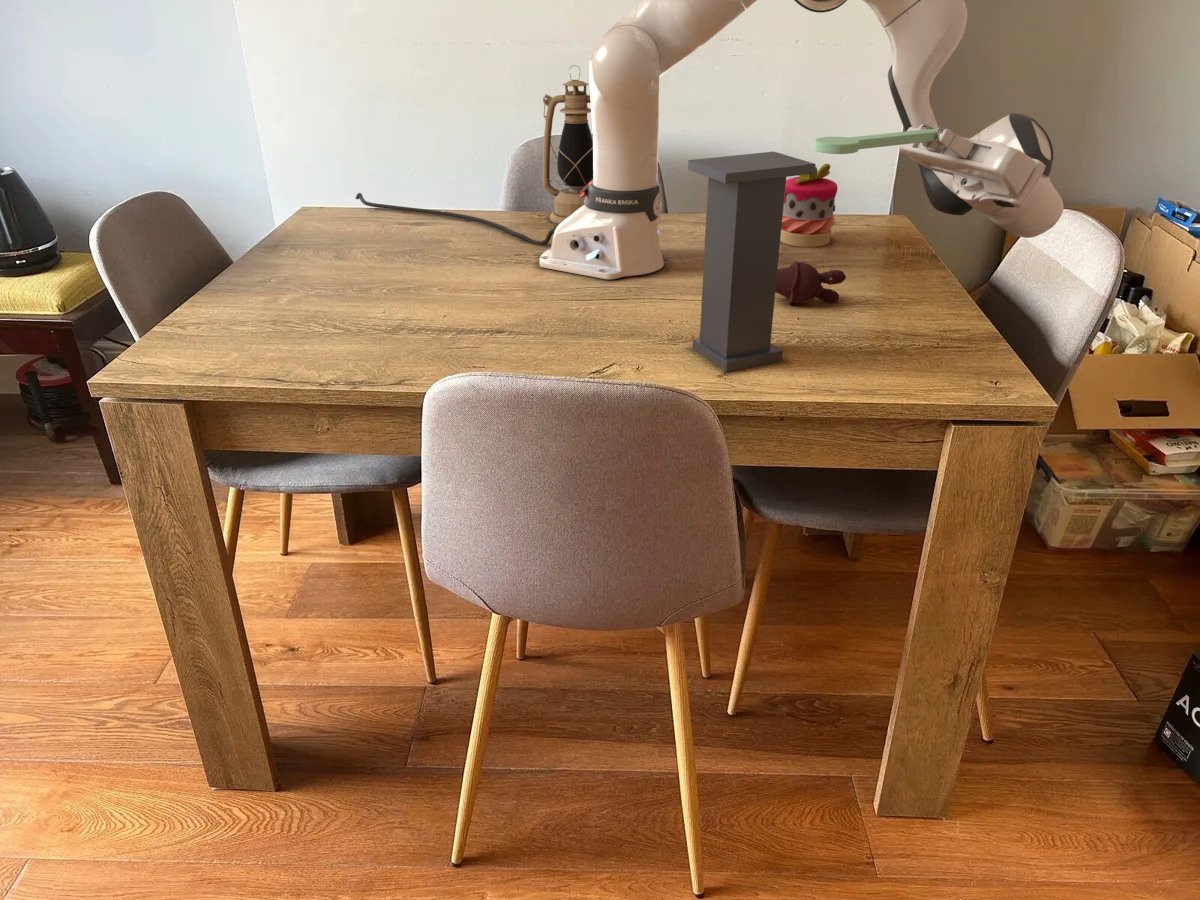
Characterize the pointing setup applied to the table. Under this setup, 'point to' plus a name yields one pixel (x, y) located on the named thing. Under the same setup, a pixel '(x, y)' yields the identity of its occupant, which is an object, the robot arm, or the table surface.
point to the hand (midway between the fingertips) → (930, 131)
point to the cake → (809, 209)
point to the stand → (742, 255)
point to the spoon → (872, 141)
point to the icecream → (807, 283)
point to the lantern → (569, 150)
